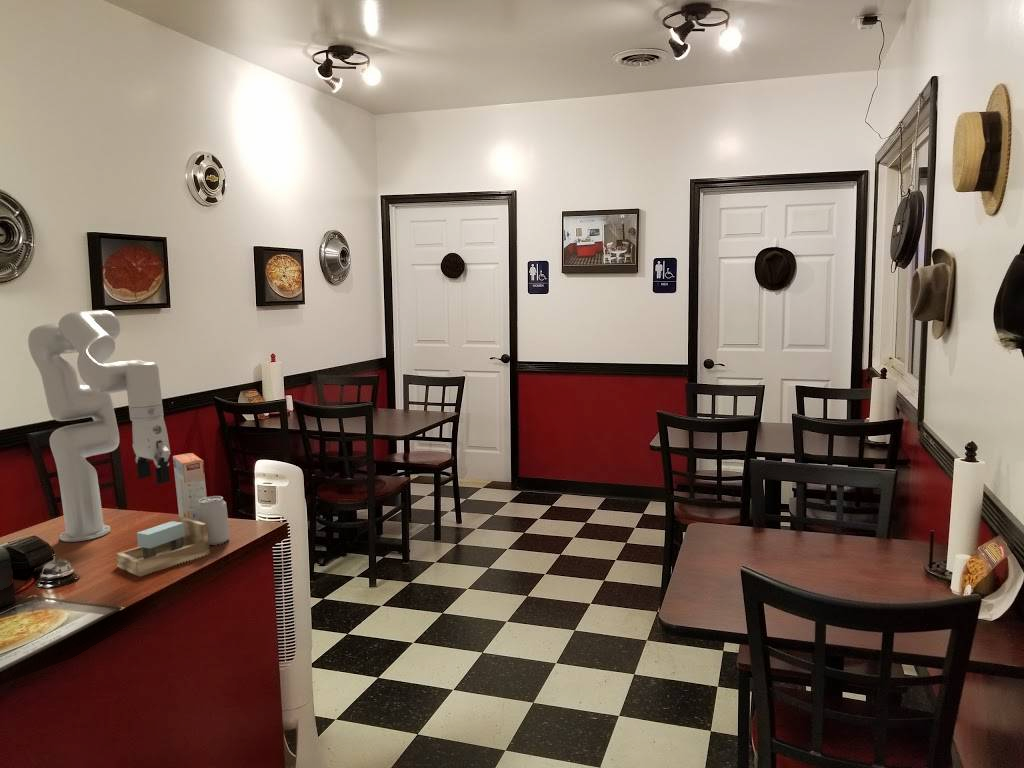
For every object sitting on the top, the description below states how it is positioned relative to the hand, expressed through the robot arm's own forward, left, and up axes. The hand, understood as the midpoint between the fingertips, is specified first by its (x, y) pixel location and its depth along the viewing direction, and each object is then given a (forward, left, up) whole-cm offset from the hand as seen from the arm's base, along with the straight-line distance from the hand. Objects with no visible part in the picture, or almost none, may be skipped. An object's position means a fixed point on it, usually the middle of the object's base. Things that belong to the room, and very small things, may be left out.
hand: (153, 480), depth 197 cm
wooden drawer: (+1, 0, -21) cm, 21 cm away
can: (-1, +15, -21) cm, 26 cm away
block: (+1, 0, -16) cm, 16 cm away
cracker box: (-17, +18, -21) cm, 32 cm away
